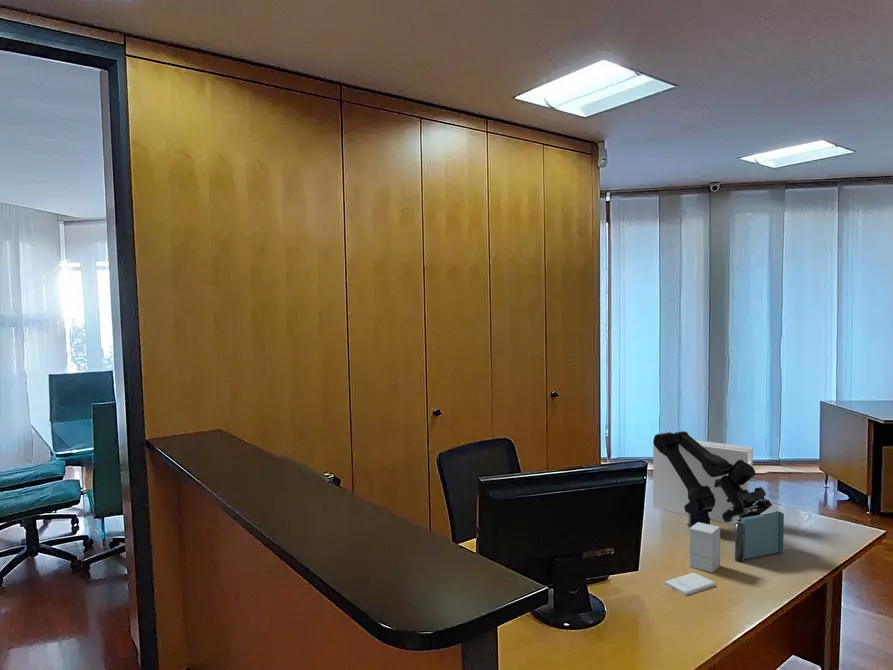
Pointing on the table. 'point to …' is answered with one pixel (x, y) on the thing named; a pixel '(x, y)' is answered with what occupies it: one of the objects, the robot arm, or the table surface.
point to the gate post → (739, 542)
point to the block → (672, 489)
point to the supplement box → (704, 546)
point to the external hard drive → (689, 583)
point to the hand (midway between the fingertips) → (762, 533)
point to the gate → (763, 534)
